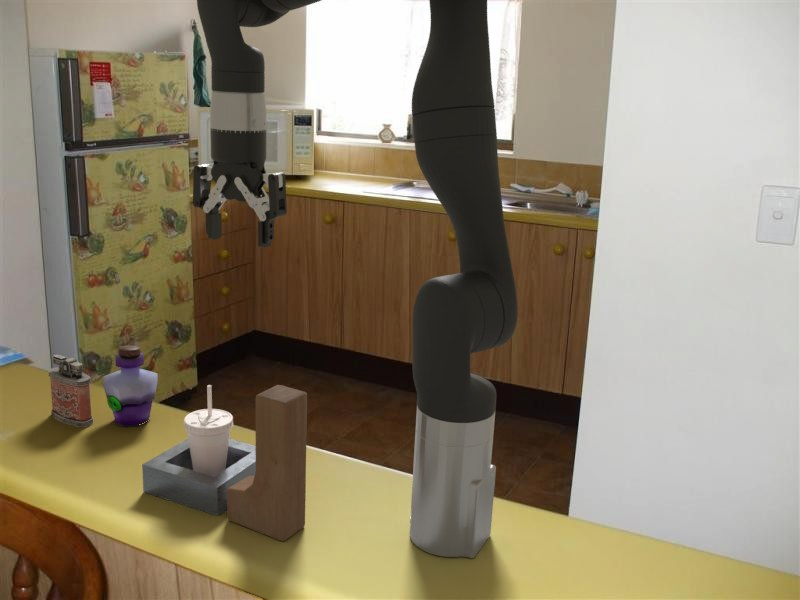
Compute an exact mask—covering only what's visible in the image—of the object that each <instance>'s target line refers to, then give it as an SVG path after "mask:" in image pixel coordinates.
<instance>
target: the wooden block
mask: <svg viewBox="0 0 800 600" xmlns="http://www.w3.org/2000/svg"><path fill="white" fill-rule="evenodd" d="M307 419H308V393H307V392H306V391H302V390H300V389H295V388H293V387H289V386H285V385H281V384H276V385H274V386H272V387H271V388H268V389H266V390H264V391H262V392H260V393H258V394H256V396H255V446H256V472H255V476H248V477H246V478H244V479H243V480H241V481H239V482H238V483H236V484H234V485H233V486H231V487H229V488H228V489H227V510H226V514H227V515H226V516H227V520H228V521H229V522H231V523H235V524H238V525H240V526H242V527H245V528H247V529H250V530H253V531H254V532H257V533H260V534H263V535H264V536H268V537H270V538H273V539H275V540H278V541H280V542H286V541H287V540H288V539H291V537H292V536H293V535H295V534H296V533H298V532H299V531H300V530H302V529H303V528H304V527H305V525H306V492H307V491H306V488H307V487H306V484H307V483H306V482H307V481H306V479H307V477H306V475H307V429H308V428H307V427H308V426H307V422H308V420H307Z"/></svg>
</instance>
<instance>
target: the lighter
mask: <svg viewBox="0 0 800 600" xmlns="http://www.w3.org/2000/svg"><path fill="white" fill-rule="evenodd" d="M51 359H52V364H53V365H56V367H52V368H50V369H48V371H47V373H48V376H49V379H50V380H49V381H50V389H51V390H50V394H51V406H52V408H51V410H50V411H51V417H52V418H54V419H55V420H57V421H59V422H61V423H63V424H65V425H69V426H74V427H77V428H87V427H89V426H91V425H93V424H94V417H93V416H92V403H91V387H90V384H91V382H92V381H91V375H90V376H89V375H88V374H86V373H84V372H83V370H84V369H83V363H82V362H79V361H78V360H77V358H75V357H70V358H67V356H64V355H60V354H54V355H53V356H52V357H51Z"/></svg>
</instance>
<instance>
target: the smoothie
mask: <svg viewBox="0 0 800 600" xmlns="http://www.w3.org/2000/svg"><path fill="white" fill-rule="evenodd" d="M212 386H213V385H212V384H208V385H207V386H206V392H207V395H206V397H207V402H206V403H207V408H203V409H198V410H195V411H194V410H193V411H192V412H190V413H188V414H187V415H185V417H184V419H183V429H185V431H186V434H187V439H188V441H189V447H190V453H191V459H192V466H193V471H196V472H200V473H203V474H206V475H210V476H213V477H215V476H217V475H218V474H220V473H221V472H223V471H224V470H226V462H227V454H228V445H229V439H231V437H230V436H231V429H232V428H233V426H234V416H233V415H232V414H231V412H229V411H227V410H223V409H218V408H213V399H212V397H213V395H212V394H213V393H212V392H213V391H212V390H213V389H212Z"/></svg>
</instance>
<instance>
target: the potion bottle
mask: <svg viewBox="0 0 800 600" xmlns="http://www.w3.org/2000/svg"><path fill="white" fill-rule="evenodd" d="M141 351H142V349H141V347H140V346H138V345H130V344H129V345H122V346H119V347H118V349H117V353H116V354H115V359H114V360H115V367H118V368H120V370H117V371H114V372H111V373H109V374H106V375H104V376H103V380H102V386H103V389H104V393H105V397H106V402H107V405H108V408H109V409H110V410H111V412H112V414H113V417H114V425H117V426H120V427H123V428H132V427H134V428H135V427H140V426H139V424H142V423H144V422H146V421H147V422H148V420H149V417H150V418H151V411H152V405H153V400H155V396H156V393H157V387H158V382H159V381H158V378H159V377H158V375H159V374H158V373H157V372H154V371H150V370H146V369H143V368H140V367H141V366H143V365H145V357H144V352H141ZM149 421H150V422H151V419H150V420H149ZM148 423H149V422H148ZM143 425H144V424H142V425H141V426H143Z"/></svg>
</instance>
